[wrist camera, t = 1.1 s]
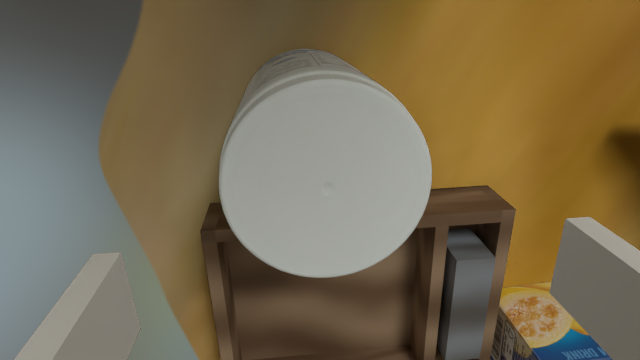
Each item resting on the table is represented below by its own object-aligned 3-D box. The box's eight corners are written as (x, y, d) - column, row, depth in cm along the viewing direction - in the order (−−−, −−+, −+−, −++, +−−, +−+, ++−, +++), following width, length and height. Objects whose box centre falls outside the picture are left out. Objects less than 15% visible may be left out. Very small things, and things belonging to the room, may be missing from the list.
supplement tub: (328, 191, 34) (360, 313, 20) (220, 138, 31) (175, 237, 18) (393, 86, 31) (481, 146, 17) (280, 18, 29) (281, 28, 15)
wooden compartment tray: (210, 203, 33) (198, 237, 28) (487, 185, 35) (522, 215, 30) (233, 362, 40) (226, 413, 35) (465, 341, 42) (491, 386, 37)
